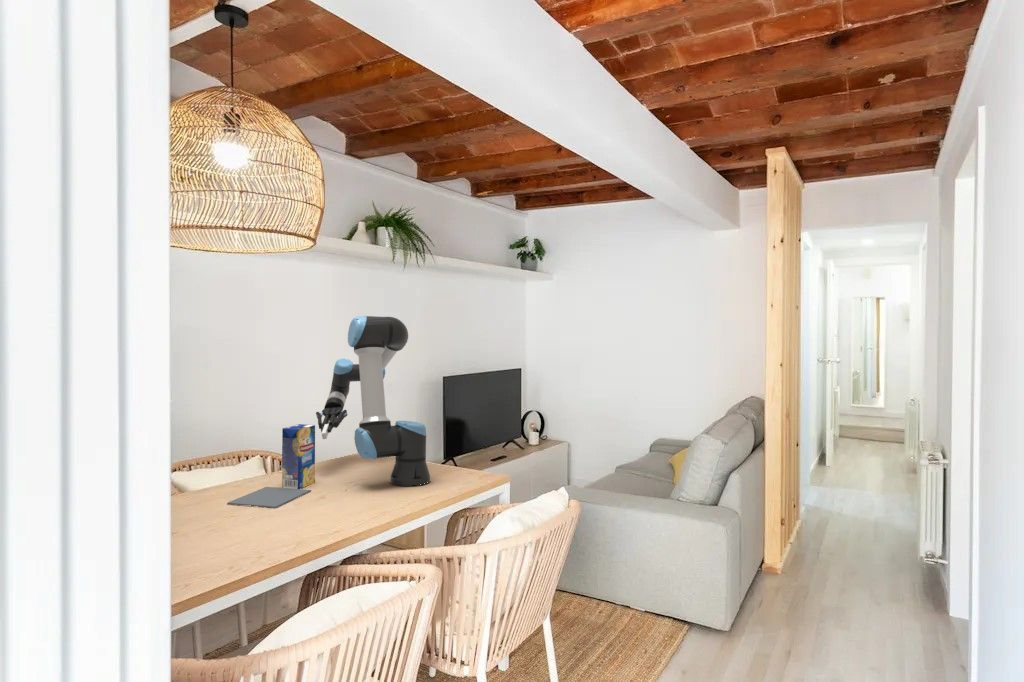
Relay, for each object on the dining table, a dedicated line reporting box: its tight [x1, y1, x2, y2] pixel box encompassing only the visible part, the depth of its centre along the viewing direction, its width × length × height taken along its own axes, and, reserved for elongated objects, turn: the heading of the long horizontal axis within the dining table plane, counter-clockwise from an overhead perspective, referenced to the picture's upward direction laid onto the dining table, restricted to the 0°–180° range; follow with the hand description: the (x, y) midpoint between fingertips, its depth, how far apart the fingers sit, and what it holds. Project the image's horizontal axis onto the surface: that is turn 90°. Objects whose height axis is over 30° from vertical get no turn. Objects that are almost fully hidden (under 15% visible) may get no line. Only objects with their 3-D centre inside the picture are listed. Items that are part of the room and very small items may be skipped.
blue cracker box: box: [281, 423, 316, 489], centre depth 240 cm, size 7×11×22 cm, turn 166°
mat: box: [226, 486, 312, 509], centre depth 223 cm, size 18×22×1 cm
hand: (324, 436), depth 252 cm, fingers closed
